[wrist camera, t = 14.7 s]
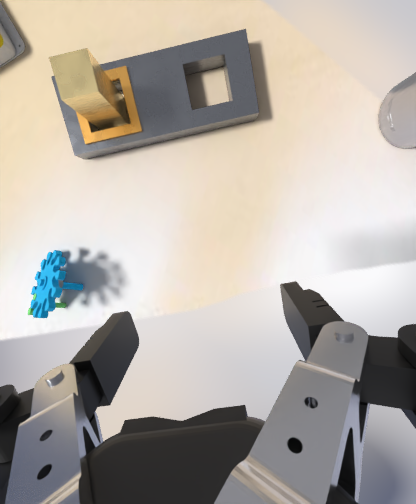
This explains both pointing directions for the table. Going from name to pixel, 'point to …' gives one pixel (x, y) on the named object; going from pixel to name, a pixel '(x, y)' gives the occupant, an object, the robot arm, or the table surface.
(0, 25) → the emergency button
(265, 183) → the table surface
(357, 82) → the table surface
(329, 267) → the table surface
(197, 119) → the peg board
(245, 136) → the table surface
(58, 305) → the gear
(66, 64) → the brass peg
